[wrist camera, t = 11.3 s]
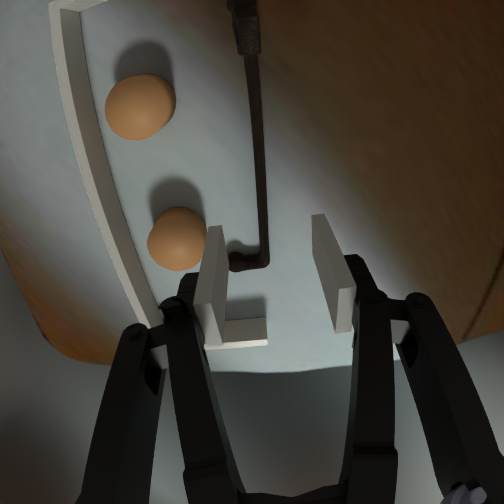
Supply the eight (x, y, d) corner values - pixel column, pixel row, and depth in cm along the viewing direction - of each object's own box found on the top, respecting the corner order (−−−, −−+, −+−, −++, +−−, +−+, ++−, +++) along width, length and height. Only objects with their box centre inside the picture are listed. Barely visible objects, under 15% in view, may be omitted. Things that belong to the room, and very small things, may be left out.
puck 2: (212, 214, 34) (209, 230, 31) (200, 258, 37) (197, 276, 34) (159, 200, 32) (151, 215, 30) (152, 245, 36) (144, 263, 33)
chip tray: (217, -38, 19) (213, -52, 15) (266, 323, 43) (268, 345, 39) (68, 7, 19) (48, 3, 16) (159, 330, 43) (154, 351, 40)
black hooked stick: (226, 255, 39) (198, -4, 21) (266, 251, 39) (254, -9, 21) (226, 284, 35) (193, -15, 16) (272, 279, 35) (260, -20, 17)
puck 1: (175, 71, 25) (166, 71, 22) (177, 129, 28) (169, 137, 25) (117, 79, 25) (102, 81, 22) (121, 135, 28) (108, 143, 25)
